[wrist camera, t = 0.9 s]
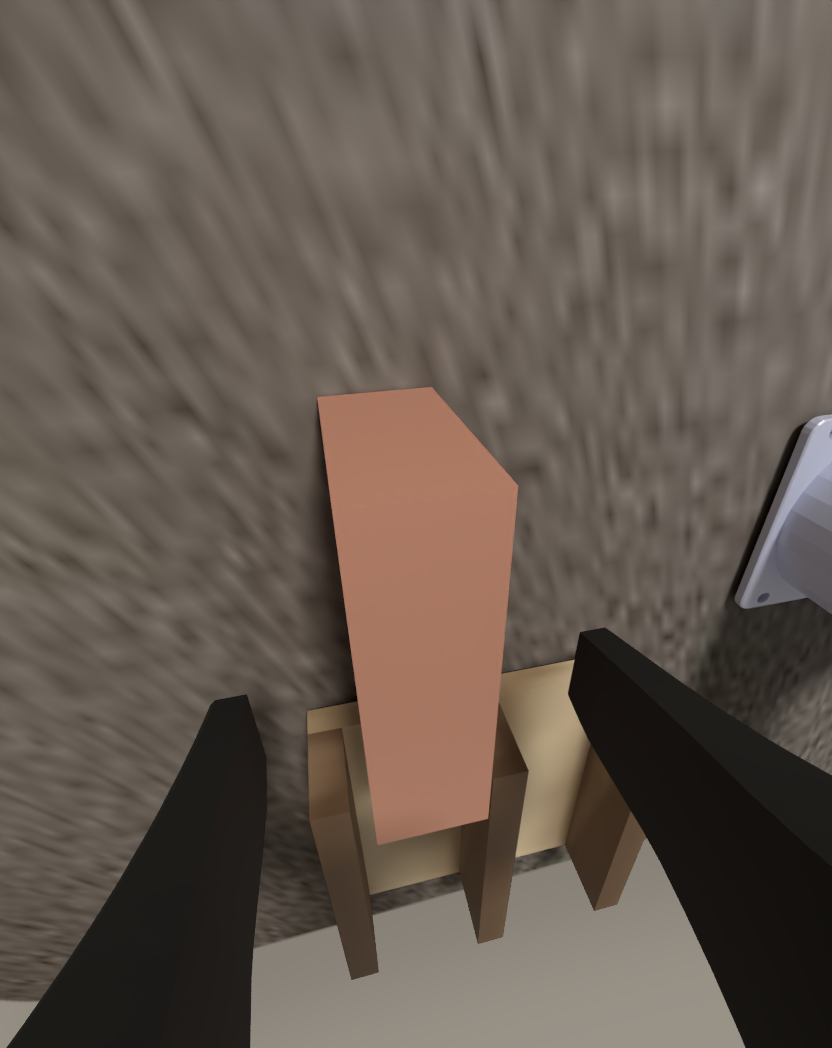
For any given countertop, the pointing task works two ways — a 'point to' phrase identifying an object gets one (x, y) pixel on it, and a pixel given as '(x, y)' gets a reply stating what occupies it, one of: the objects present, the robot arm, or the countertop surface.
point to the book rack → (480, 847)
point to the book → (421, 600)
